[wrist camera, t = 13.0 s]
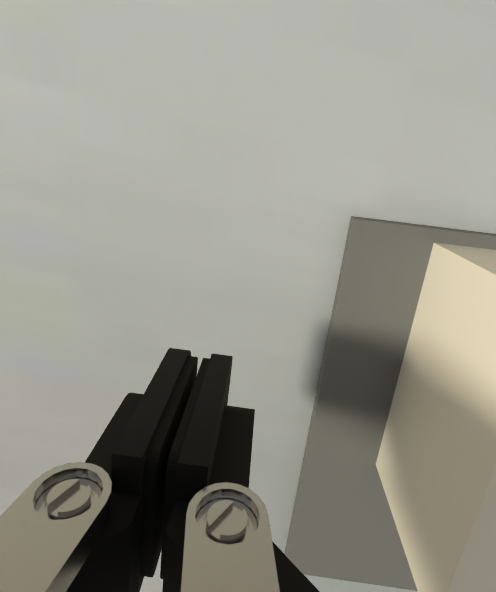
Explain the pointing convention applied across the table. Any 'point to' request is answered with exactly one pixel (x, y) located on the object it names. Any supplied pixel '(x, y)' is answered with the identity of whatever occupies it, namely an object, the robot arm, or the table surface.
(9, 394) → the table surface
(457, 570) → the card box
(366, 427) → the mat
